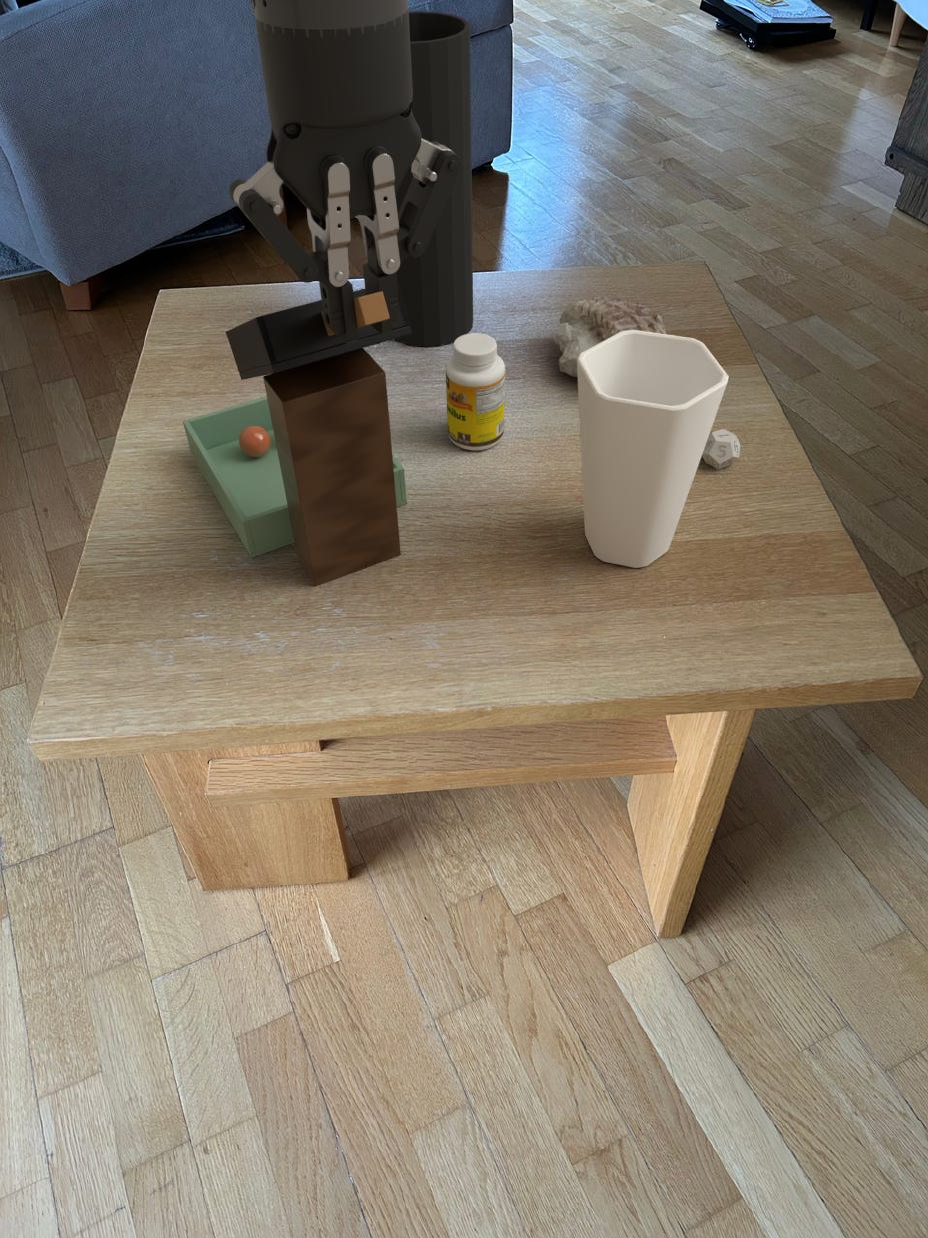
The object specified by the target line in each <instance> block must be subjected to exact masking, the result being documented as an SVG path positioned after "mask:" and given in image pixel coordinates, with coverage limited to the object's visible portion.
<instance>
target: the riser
mask: <svg viewBox="0 0 928 1238" xmlns="http://www.w3.org/2000/svg"><path fill="white" fill-rule="evenodd" d="M262 379H263V385H264V389H265V390H264V391H265V395H266V396H267V400H268V405H269V410H270V416H271V421H272V426H273V431H274V437H275V442H276V447H277V452H278V458H279V463H280V468H281V473H282V479H283V484H284V489H285V494H286V500H287V505H288V510H289V515H290V521H291V526H292V531H293V536H294V542H295V543H294V546H295V552H296V556H297V560H298V561H299V563H300V564H301V566H302V568H303V570H304V571H305V572H306V574H307V576H308V577H309V579H310V581H311V582H312V583H313V585H314V586H315V587H316V586H319V585H322V584H325V583H328V582H329V581H330V582H331V581H333V580H336V579H340V578H341V577H344V576H346V575H349V574H353V573H355V572H358V571H360V570H363V569H365V568H368V567H371V566H374V565H376V564H379V563H382V562H385V561H387V560H390V559H393V558H395V557H398V556H401V555H402V552H401V540H400V538H401V537H400V531H399V529H400V528H399V517H398V507H397V503H396V492H395V480H394V468H393V456H394V455H393V456H392V454H393V447H392V446H393V445H392V436H391V435H392V434H391V423H390V411H389V400H388V399H389V397H388V388H387V376H386V371H385V370H384V369H383V368H382V367H381V365H379V364H378V362H377V361H376V360H375V359H374V358H373V357H372V356H371V354H370V353H368V351H366V350H365V348H361V349H358V350H354V351H351V352H347V353H344V354H340V355H337V356H333V357H330V358H326V359H323V360H319V361H316V362H312V363H309V364H305V365H302V366H298V367H295V368H291V369H288V370H284V371H281V372H277V373H273V374H269V375H264V376H262Z"/></svg>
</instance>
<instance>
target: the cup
mask: <svg viewBox="0 0 928 1238" xmlns="http://www.w3.org/2000/svg"><path fill="white" fill-rule="evenodd" d="M577 374H578V377H577V393H578V395H577V396H578V416H579V434H580V435H579V437H580V456H581V457H580V459H581V460H580V461H581V475H582V477H581V478H582V500H583V501H582V502H583V521H584V536H585V538H586V540H587V542H588V544H589V546H590V549H591V551H592V553H593V555H594V557H596V558H597V559H599V560H600V561H602V562H604V563H610V564H613V565H620V566H623V567H629V568H634V569H638V568H645V567H648V566H649V565H651V564H653V562H655V561H656V560H658V559H659V558H661V557H662V556H663V555H665V554H666V553H667V552H669V550H670V548H671V544H672V541H673V538H674V536H675V533H676V530H677V527H678V524H679V522H680V518H681V516H682V513H683V510H684V507H685V504H686V502H687V499H688V496H689V493H690V490H691V487H692V484H693V482H694V479H695V476H696V473H697V471H698V468H699V465H700V463H701V459H702V454H703V451H704V448H705V445H706V442H707V439H708V437H709V434H710V433H711V432H712V428H713V426H714V422H715V419H716V416H717V414H718V411H719V408H720V405H721V402H722V399H723V396H724V394H725V391H726V388H727V385H728V382H729V377H730V376H729V374H728V373H727V372H726V371H725V369H724V368H723V366H721V364H720V363H719V362H718V360H717V359H716V358H715V356H714V355H713V354H712V352H711V351H710V350H709V348H708V347H707V346H706V345H705V343H704V342H702V341H700V340H698V339H697V338H693V337H687V336H680V335H674V334H673V335H672V334H667V333H666V334H660V333H653V332H646V331H639V330H627V331H622V332H620V333H618V334H616V335H614V336H612V337H610V338H608V339H607V340H605V341H603V342H601V343H599V344H597V345H595V346H593V347H592V348H590V349H588V350H586V351H584V352H582V353H580V354H579V357H578V359H577Z"/></svg>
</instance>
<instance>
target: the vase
mask: <svg viewBox="0 0 928 1238" xmlns="http://www.w3.org/2000/svg"><path fill="white" fill-rule="evenodd" d="M409 30H410V51H411V70H412V88H413V98H412V106H411V108H412V113H413V116H414V119H415V121H416V123H417V124H418V126H419V128H420V131H421V136H422V138H423V139H425V140H427V141H429V142H433V141H435V142H438V143H440V144H441V145H444V146H446V147H447V148H449V149H450V150H452V151H453V152H454V153H455V154H457V155H458V156H459V157H460V158H461V161H462V167H461V170H460V172H459V174H458V177H457V179H456V181H455V184H454V186H453V188H452V191H451V193H450V195H449V198H448V200H447V202H446V205H445V207H444V209H443V212H442V214H441V216H440V219H439V221H438V223H437V225H436V228H435V230H434V232H433V235H432V237H431V239H430V242H429V244H428V246H427V249H426V251H425V253H424V254H423V255H422V256H420V257H413V256H411V257H409V258H407V259H406V260H404V261H403V262H402V263H401V264H400V266H399V269H398V270H397V280H398V283H399V287H400V291H401V295H402V298H403V302H404V306H405V309H406V313H407V317H408V320H409V325H410V328H411V332H412V334H410V335H407V336H403V337H400V338H396V339H395V340H396V341H397V342H400V343H403V344H405V345H409V346H415V347H416V346H417V347H425V348H427V347H439V346H440V347H441V346H444V345H449V344H450V343H452V344H453V343H454V342H455V340H456V339H457V338H458V337H460V336H462V335H465V334H469V332H470V331H471V330H472V329H473V326H474V266H473V265H474V260H473V259H474V258H473V253H474V252H473V251H474V249H473V172H472V170H473V169H472V167H473V166H472V165H473V163H472V159H473V158H472V84H471V81H472V78H471V77H472V76H471V74H472V73H471V72H472V71H471V69H472V68H471V23H469V22H468V20H466V19H465V18H464V17H461V16H458V15H455V14H451V13H446V12H440V11H427V10H426V11H425V10H424V11H423V10H416V11H415V10H414V11H409ZM411 168H412V165H411V167H410V169H409V171H408V173H407V175H406V177H405V179H404V181H403V183H402V185H401V187H400V189H399V191H398V193H397V195H396V205H397V213H399V211H400V208H401V206H402V203H403V201H404V198H405V196H406V193H407V191H408V189H409V186H410V184H411V181H412V179H413V175H412V171H411Z"/></svg>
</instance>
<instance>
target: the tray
mask: <svg viewBox="0 0 928 1238" xmlns="http://www.w3.org/2000/svg"><path fill="white" fill-rule="evenodd" d="M182 425H183V428H184V432H185V436H186V439H187V444H188V447H189V450H190V453H191V456H192V458H193V460H194V462H195V464H196V465H197V468H198V469H199V471H200V472H201V474H202V475H203V477H204V479H205V481H206V483H207V484H208V486H209V487H210V490H211V491H212V493H213V495H214V497H215V498H216V500H217V502H218V504H219V505H220V507H221V508H222V511H223V512H224V514H225V516H226V517H227V519H228V521H229V523H230V524H231V527H232V528H233V529H234V531H235V533H236V534H237V536H238V539H239V540H240V541H241V544H242V545H243V547H244V548H245V550H246V552H247V554H248V555H249V557H250V558H255V557H257V556H260V555H263V554H267V553H269V552H272V551H275V550H277V549H281V548H284V547H287V546H289V545H292V544H295V542H294V536H293V531H292V526H291V521H290V515H289V510H288V505H287V500H286V494H285V489H284V484H283V479H282V473H281V468H280V463H279V458H278V452H277V447H276V442H275V437H274V431H273V426H272V421H271V416H270V410H269V405H268V400H267V395H266V396H263V397H259V398H257V399H252V400H250V401H246V402H242V403H240V404H236V405H233V406H229V407H226V408H222V409H219V410H215V411H212V412H209V413H205V414H202V415H198V416H194V417H191V418H188V419H184V420H183V421H182ZM252 425H256V426H260V427H262V428H264V429H265V430H266V431H267V432H268V434H269V435H270V439H271V445H270V448H269V450H268V452H267V453H266V454H265V455H263V456H261V457H250V456H248V455H246V454H245V453H244V452H243V451H242V450H241V448H240V446H239V436H240V433H241V432H242V431H243V430H244V429H245V428H246V427H248V426H252ZM392 456H393V468H394V480H395V492H396V503H397V508H398V507H401V506H404V505H407V504H408V501H407V486H406V475H405V474H406V473H405V468H404V466H403V465H402V463H401V462H400V461H399V460H398V459H397V458H396V457H395V456H394V454H393V453H392Z"/></svg>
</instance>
